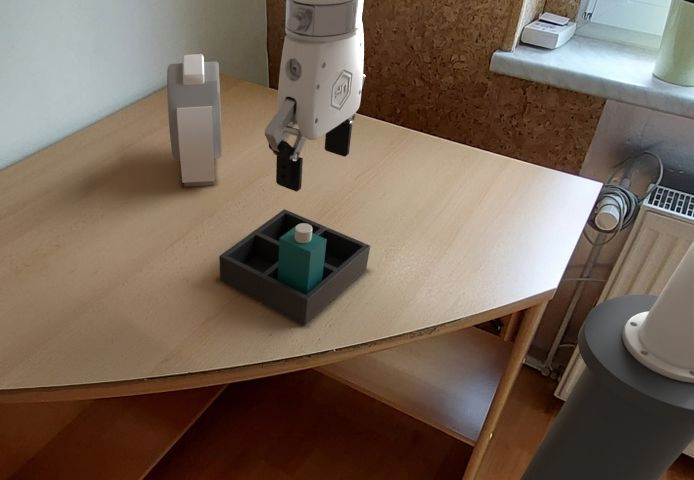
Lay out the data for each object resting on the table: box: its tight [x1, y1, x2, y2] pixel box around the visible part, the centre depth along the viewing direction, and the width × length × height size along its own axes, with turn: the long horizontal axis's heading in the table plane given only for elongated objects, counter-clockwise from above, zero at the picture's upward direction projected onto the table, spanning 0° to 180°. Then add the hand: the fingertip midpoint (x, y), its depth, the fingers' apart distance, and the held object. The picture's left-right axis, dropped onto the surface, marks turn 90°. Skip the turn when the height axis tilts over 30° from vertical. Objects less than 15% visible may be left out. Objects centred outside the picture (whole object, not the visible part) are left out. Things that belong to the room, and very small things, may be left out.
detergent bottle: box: [277, 223, 327, 295], centre depth 84 cm, size 5×4×11 cm
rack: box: [218, 209, 371, 326], centre depth 90 cm, size 15×15×5 cm
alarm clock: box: [166, 53, 223, 187], centre depth 108 cm, size 18×8×20 cm, turn 0°
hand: (313, 169), depth 74 cm, fingers open, 9 cm apart
